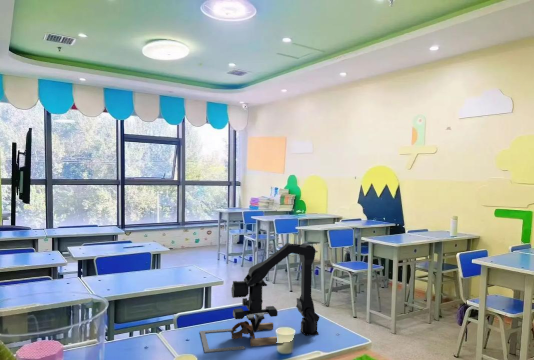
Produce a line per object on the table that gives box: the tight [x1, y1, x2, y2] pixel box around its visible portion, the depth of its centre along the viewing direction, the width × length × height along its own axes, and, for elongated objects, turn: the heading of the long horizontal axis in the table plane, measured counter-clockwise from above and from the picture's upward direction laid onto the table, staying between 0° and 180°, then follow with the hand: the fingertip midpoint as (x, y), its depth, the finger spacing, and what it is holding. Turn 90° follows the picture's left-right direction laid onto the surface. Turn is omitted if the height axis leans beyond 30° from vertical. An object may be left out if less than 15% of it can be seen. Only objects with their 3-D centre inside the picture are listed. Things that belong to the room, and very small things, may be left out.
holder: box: [249, 322, 277, 347], centre depth 163 cm, size 14×17×2 cm
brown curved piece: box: [230, 320, 256, 340], centre depth 160 cm, size 12×10×8 cm
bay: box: [199, 328, 246, 354], centre depth 158 cm, size 16×21×1 cm
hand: (254, 332), depth 162 cm, fingers closed
